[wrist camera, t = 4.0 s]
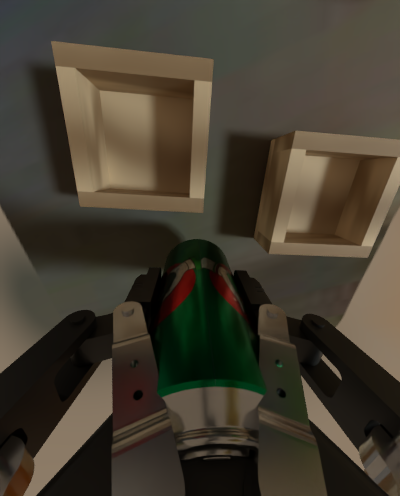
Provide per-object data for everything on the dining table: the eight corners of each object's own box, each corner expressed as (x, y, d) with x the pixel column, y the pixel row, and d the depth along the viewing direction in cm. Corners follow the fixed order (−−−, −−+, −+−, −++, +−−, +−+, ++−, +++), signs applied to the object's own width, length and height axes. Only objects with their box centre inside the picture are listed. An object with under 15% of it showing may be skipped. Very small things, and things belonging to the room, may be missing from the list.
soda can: (166, 288, 17) (119, 526, 6) (165, 234, 15) (93, 439, 4) (222, 290, 17) (282, 515, 6) (229, 237, 15) (338, 432, 4)
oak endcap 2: (271, 140, 15) (295, 130, 12) (368, 148, 16) (418, 141, 12) (253, 238, 18) (268, 253, 15) (334, 241, 19) (367, 257, 16)
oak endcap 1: (88, 75, 13) (51, 41, 10) (207, 88, 14) (213, 59, 10) (103, 198, 16) (80, 206, 13) (200, 204, 17) (202, 212, 13)
